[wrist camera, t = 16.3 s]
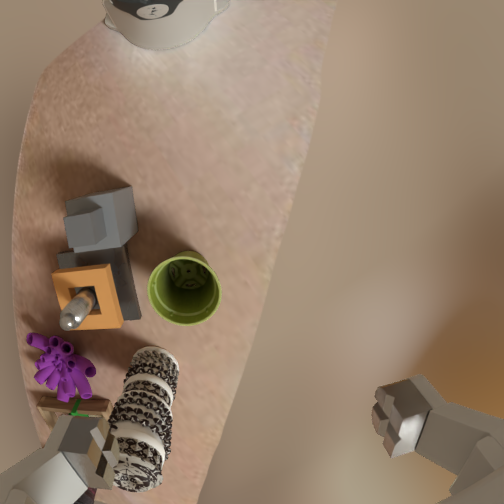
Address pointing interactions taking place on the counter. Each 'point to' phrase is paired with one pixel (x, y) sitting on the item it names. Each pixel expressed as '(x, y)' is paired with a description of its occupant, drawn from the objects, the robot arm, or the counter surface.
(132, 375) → the decorative candle
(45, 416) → the open wooden box
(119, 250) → the pipe stand
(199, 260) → the plant pot
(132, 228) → the grey stepped block
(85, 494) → the camera lens
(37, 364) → the purple tube coral
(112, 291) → the collar
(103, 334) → the counter surface
